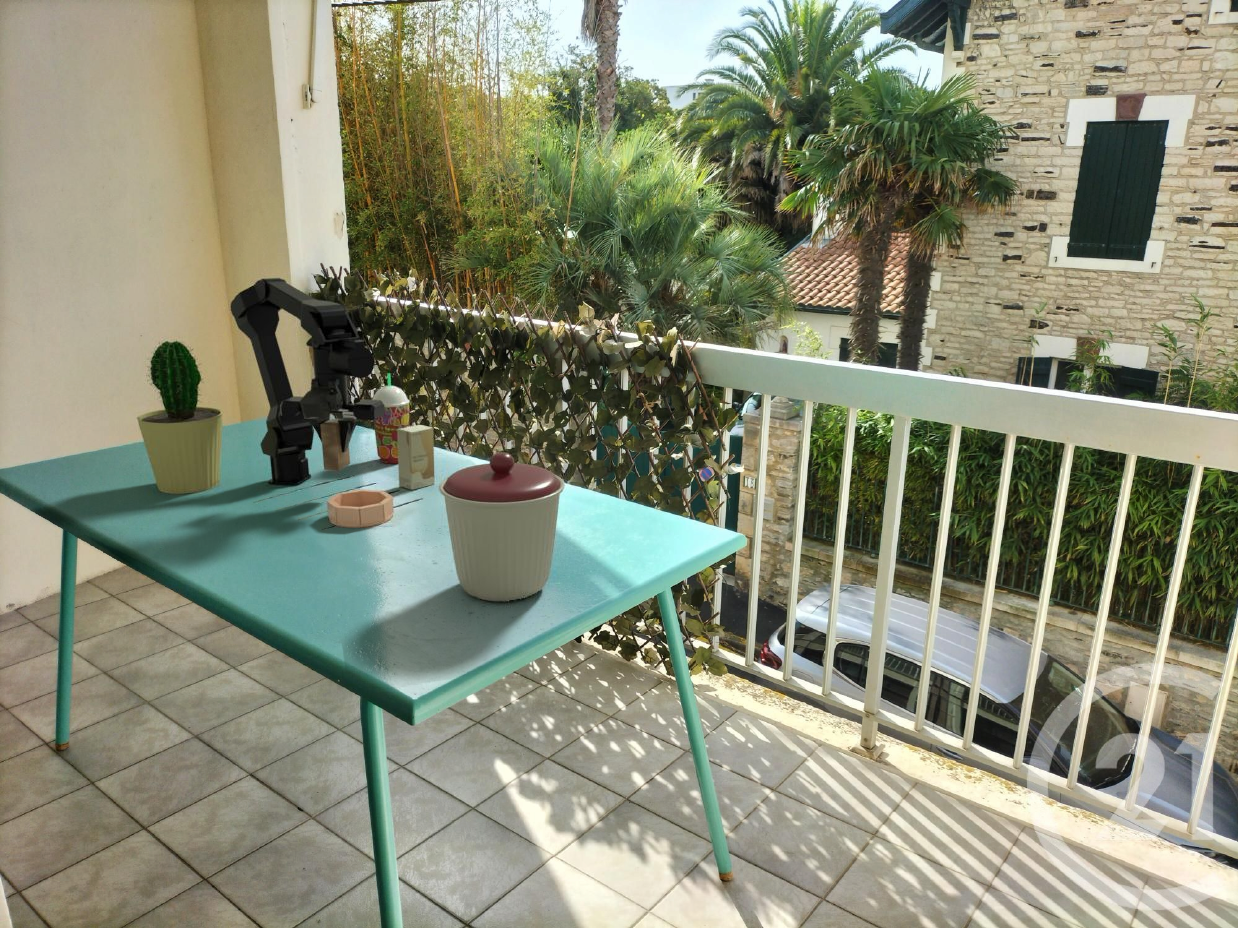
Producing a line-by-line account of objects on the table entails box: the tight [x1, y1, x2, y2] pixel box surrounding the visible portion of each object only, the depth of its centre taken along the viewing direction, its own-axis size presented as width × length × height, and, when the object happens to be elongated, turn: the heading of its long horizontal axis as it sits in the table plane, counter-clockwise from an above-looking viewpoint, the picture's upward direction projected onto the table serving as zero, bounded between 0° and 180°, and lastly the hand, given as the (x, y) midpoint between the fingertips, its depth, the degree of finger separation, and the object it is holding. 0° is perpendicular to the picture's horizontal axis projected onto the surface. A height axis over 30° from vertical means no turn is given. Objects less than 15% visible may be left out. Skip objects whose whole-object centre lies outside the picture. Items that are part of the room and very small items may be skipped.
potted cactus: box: [136, 340, 224, 495], centre depth 171 cm, size 15×15×30 cm
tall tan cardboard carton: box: [320, 418, 351, 472], centre depth 166 cm, size 3×5×9 cm, turn 172°
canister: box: [438, 451, 565, 602], centre depth 127 cm, size 18×18×21 cm
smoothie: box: [372, 372, 410, 464], centre depth 193 cm, size 8×8×20 cm
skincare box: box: [397, 424, 435, 491], centre depth 177 cm, size 6×4×12 cm
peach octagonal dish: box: [326, 489, 395, 529], centre depth 158 cm, size 11×11×4 cm
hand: (336, 451), depth 166 cm, fingers closed on tall tan cardboard carton, 3 cm apart
